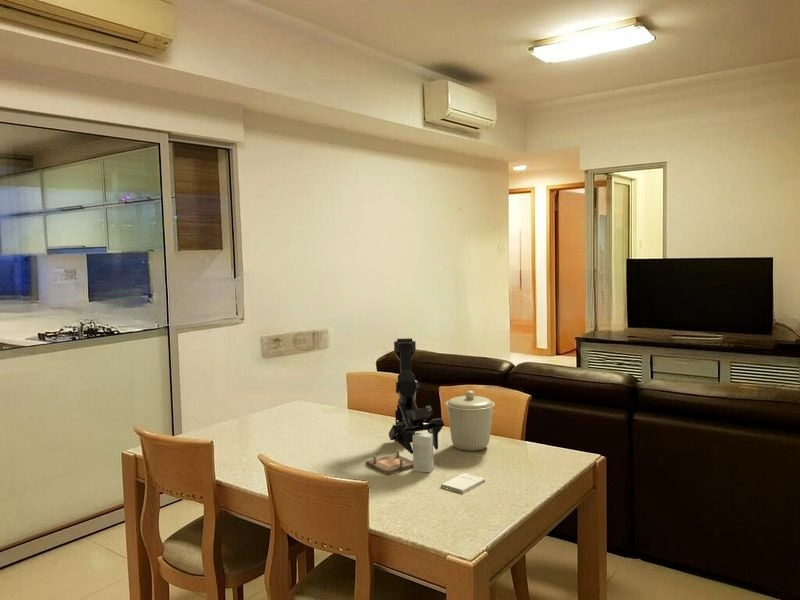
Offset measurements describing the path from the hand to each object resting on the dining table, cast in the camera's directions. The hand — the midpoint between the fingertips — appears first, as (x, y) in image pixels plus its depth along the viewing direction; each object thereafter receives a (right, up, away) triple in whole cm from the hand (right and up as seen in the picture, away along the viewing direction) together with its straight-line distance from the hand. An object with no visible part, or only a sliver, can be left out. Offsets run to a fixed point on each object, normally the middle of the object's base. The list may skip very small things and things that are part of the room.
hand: (424, 451), depth 201 cm
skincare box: (0, -7, +2) cm, 7 cm away
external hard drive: (+11, -8, -11) cm, 18 cm away
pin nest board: (-11, -6, +6) cm, 14 cm away
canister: (+18, -5, +25) cm, 31 cm away
